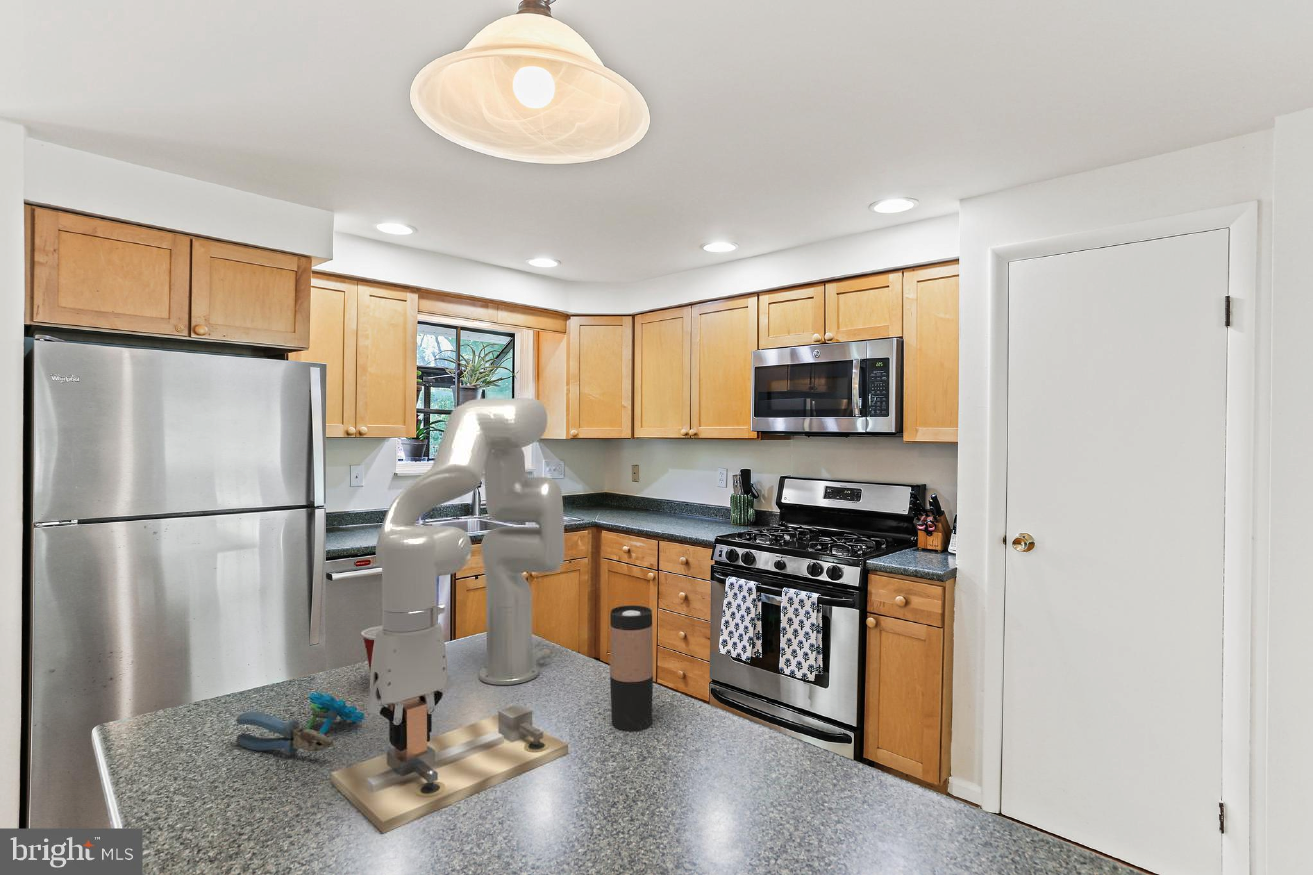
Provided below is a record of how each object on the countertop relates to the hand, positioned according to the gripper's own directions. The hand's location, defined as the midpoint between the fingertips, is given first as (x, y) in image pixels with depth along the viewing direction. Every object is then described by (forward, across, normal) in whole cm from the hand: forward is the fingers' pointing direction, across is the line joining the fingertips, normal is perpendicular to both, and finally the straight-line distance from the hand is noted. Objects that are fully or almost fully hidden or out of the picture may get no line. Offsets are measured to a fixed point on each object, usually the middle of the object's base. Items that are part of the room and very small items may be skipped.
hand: (410, 742), depth 98 cm
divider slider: (+4, 0, +2) cm, 5 cm away
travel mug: (+6, -37, +8) cm, 38 cm away
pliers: (+7, +10, -24) cm, 27 cm away
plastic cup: (+6, -14, -39) cm, 42 cm away
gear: (+7, +1, -28) cm, 29 cm away
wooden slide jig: (+6, -7, 0) cm, 9 cm away
